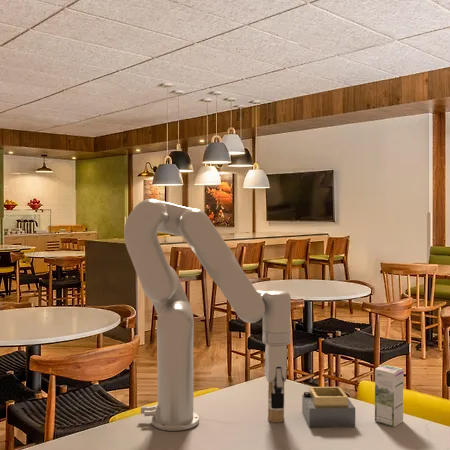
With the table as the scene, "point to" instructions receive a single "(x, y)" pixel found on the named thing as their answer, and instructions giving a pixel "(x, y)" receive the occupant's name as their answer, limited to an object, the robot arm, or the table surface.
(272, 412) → the sprinkles bottle
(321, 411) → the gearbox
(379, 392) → the syrup box
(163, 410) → the robot arm
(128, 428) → the table surface
